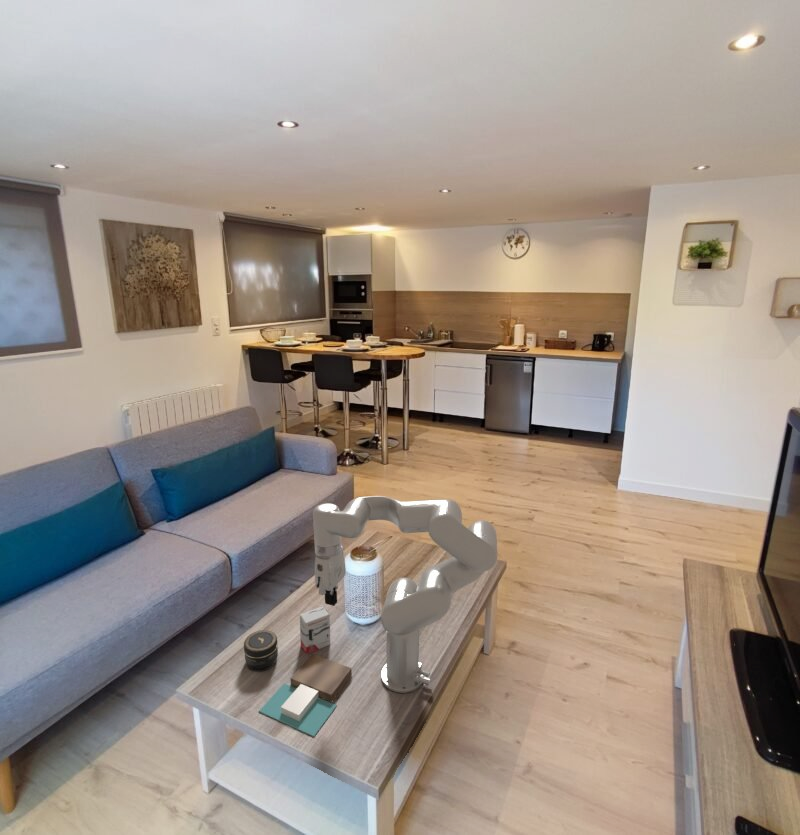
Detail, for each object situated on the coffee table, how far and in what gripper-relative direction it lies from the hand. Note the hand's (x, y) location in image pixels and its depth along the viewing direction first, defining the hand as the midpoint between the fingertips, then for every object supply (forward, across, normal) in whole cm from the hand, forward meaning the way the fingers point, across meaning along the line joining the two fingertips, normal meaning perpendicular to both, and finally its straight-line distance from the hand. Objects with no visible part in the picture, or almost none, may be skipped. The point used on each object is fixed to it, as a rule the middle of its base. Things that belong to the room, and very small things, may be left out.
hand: (331, 603), depth 144 cm
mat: (+23, -17, +2) cm, 28 cm away
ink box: (+23, +6, +11) cm, 26 cm away
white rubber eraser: (+22, -16, +2) cm, 27 cm away
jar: (+23, -6, +22) cm, 32 cm away
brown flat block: (+23, -6, +1) cm, 23 cm away
